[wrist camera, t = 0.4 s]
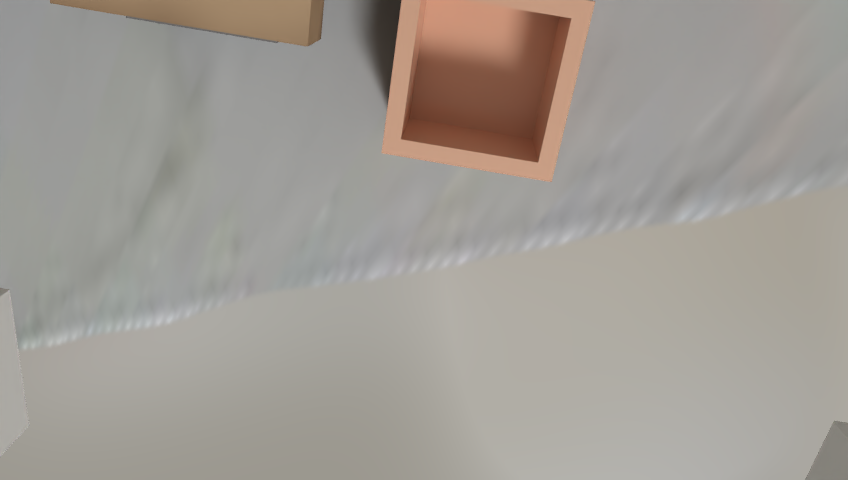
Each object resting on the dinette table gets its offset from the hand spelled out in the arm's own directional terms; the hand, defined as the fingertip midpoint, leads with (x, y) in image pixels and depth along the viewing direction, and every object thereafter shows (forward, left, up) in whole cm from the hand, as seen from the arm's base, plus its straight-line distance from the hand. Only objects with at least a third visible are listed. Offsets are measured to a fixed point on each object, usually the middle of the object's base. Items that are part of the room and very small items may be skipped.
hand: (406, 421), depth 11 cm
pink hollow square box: (-2, +1, -26) cm, 26 cm away
